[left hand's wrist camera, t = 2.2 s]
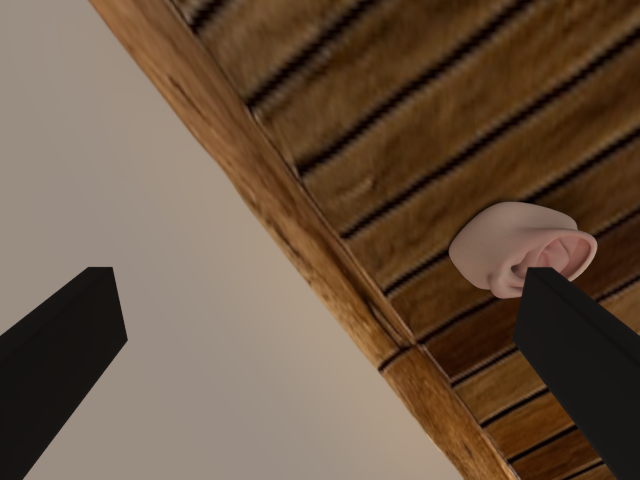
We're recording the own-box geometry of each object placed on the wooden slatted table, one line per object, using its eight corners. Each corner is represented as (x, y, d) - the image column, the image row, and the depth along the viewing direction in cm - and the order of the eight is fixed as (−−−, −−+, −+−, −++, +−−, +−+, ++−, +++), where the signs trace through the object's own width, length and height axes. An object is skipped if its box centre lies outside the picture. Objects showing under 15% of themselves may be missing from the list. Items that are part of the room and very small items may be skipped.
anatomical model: (445, 285, 42) (504, 188, 38) (435, 269, 46) (487, 179, 42) (549, 327, 44) (615, 238, 40) (532, 308, 48) (590, 225, 44)
